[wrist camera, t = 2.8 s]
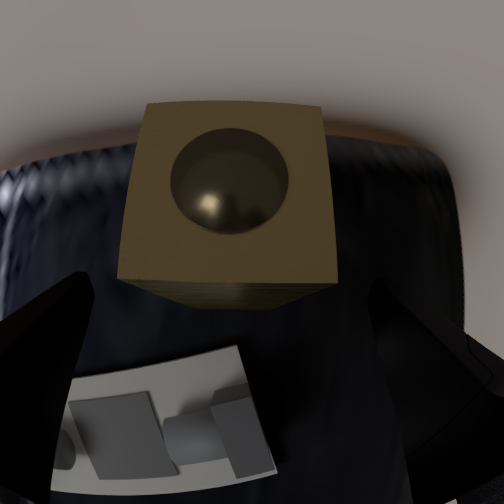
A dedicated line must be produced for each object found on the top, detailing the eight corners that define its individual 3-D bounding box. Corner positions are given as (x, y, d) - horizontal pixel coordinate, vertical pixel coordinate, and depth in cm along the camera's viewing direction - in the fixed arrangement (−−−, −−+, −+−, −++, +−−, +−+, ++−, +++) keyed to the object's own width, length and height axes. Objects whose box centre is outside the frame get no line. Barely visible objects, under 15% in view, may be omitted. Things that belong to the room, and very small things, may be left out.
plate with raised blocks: (236, 344, 18) (236, 351, 13) (275, 466, 16) (286, 499, 11) (15, 384, 15) (-21, 390, 11) (54, 485, 14) (28, 506, 9)
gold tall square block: (269, 309, 18) (339, 282, 6) (194, 308, 18) (115, 277, 6) (269, 237, 19) (321, 104, 7) (197, 235, 19) (146, 101, 7)
